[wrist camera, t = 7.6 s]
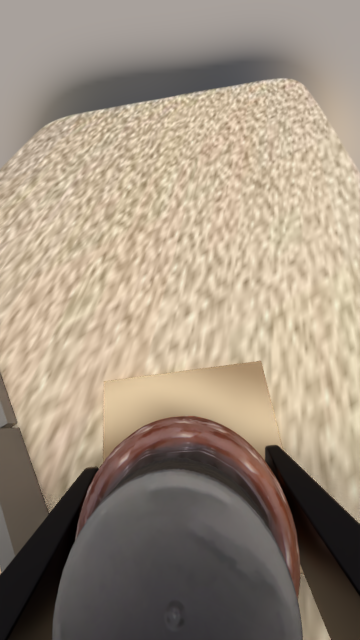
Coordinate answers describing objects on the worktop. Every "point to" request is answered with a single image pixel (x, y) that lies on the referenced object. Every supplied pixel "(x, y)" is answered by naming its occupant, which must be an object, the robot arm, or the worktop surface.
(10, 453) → the case
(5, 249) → the worktop surface
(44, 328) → the worktop surface
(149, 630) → the supplement bottle
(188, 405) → the board
